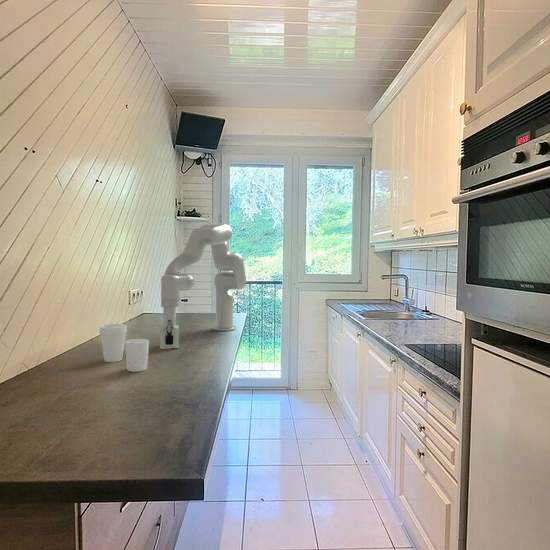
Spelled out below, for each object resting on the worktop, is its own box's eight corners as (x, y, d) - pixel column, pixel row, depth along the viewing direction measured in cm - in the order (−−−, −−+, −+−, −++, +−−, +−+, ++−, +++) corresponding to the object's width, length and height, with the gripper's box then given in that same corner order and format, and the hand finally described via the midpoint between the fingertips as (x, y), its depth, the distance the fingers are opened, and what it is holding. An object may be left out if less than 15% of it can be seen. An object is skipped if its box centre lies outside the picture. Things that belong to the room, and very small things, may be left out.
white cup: (152, 366, 142) (152, 339, 141) (142, 373, 134) (143, 344, 133) (131, 365, 142) (131, 338, 142) (120, 371, 135) (120, 342, 134)
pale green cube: (160, 345, 175) (160, 325, 175) (178, 344, 177) (178, 325, 177) (159, 349, 168) (159, 328, 167) (178, 348, 170) (178, 328, 169)
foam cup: (94, 360, 147) (94, 326, 147) (114, 355, 156) (114, 322, 155) (111, 364, 143) (111, 329, 142) (131, 358, 151) (132, 325, 151)
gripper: (162, 300, 179) (161, 338, 180) (159, 305, 162) (159, 346, 163) (179, 300, 181) (178, 337, 182) (178, 305, 164) (178, 346, 165)
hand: (169, 341), depth 172 cm, fingers open, 9 cm apart
